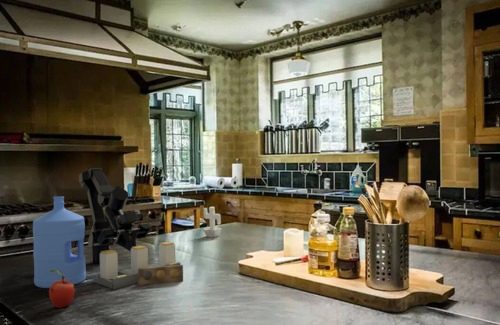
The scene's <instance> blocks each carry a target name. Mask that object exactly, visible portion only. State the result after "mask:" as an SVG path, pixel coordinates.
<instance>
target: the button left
mask: <svg viewBox="0 0 500 325" xmlns="http://www.w3.org/2000/svg"><path fill="white" fill-rule="evenodd" d="M118 257H119V256H118V252H117V250H113V249H111V250H106V251H101V253H100V263H99V273H100V274H99V275H100V276H99V277H102V278H105V279H108V280H109V279H112V278H116V277H117V276H118V272H119V265H118V264H119V263H118Z"/></svg>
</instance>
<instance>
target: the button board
mask: <svg viewBox="0 0 500 325" xmlns="http://www.w3.org/2000/svg"><path fill="white" fill-rule="evenodd" d="M173 265H181V262H178V261H177V262H174V263H170V264H168V265H165V266H173ZM148 267H160V266H159V262H156V263H152V264H148ZM93 283H95V284H98V285H102V286H104V287H107V288H110V289H113V290H116V289H119V288H123V287H128V286H131V285H134V284H138V272H137V273H131V268H130V269H127V270H122V271H119V270H118V276H117V277H116V278H112V279H109V280H108V279H105V278H102V277H100V276H96V277H93Z"/></svg>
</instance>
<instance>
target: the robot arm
mask: <svg viewBox="0 0 500 325" xmlns="http://www.w3.org/2000/svg"><path fill="white" fill-rule="evenodd" d="M78 182H79V183H80V186H81V189H82V190H83V191H84V192H85V193H86V195H87V198H88V204H89V207H90V208H89V209H90V213H91V218H92V222H93V223H92V224H93V225H92V227H91V230H90V233H89V237H88V240H87V245H88V248H91V249H92V250H91V252H92V254H91V255H92V261H91V264H100V253H101V251H106V250H112V248H111V247H110V246H114V244H115V245H117V246H120V247H122V248H124V249H125V250H127V251H129V252H130V253H131V249H132V247H135V246H137V240H136V239H138V240H139V239H145V238H147V236H148V235H149V234H150V231H151V230H152V228H153V227H152V225H151V224H150V223H149V222H146V223H145V222H144V223H139V224H138V225H137V227H136V228H134V226H135V223H136V222H137V221H139V220H140V219H141V218H142V213H141V212H140V210H139V209H135V210H134V209H133V210H134V211H126V212H124V211H123V210H124V209H125V206H126V204H127V201H128V198H129V195H130V194H129V191H127V189H124V188H122V187H121V186H120V185H118V186H117V185H116V186H112V185H110V183H109V181H108V179H107V177H106V175H105V174H104V170H103V168H101V167H97V168H96V167H95V168H93V167H92V168H89V169H88V170H85V171H82V172H81V173H79V175H78ZM103 207H105V208H103ZM106 218H107V219H106Z"/></svg>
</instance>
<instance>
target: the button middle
mask: <svg viewBox="0 0 500 325" xmlns="http://www.w3.org/2000/svg"><path fill="white" fill-rule="evenodd" d="M148 249H149V248H147V246H145V245H140V244H139V245H136V246H135V247H132V249H131V252H130V269H131V273H137V272H138V268H147V267H148V265H149V256H148V255H149V253H148V252H149V250H148Z"/></svg>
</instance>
